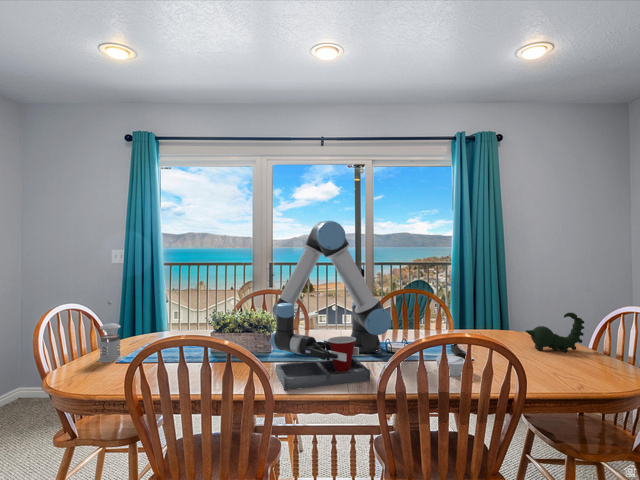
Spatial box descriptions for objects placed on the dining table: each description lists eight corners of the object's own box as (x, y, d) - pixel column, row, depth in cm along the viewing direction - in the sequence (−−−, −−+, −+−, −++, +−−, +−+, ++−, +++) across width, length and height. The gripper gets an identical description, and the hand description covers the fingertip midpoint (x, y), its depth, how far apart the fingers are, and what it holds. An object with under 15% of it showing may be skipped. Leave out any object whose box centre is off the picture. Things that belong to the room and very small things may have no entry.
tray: (354, 367, 167) (354, 357, 167) (370, 381, 151) (370, 370, 151) (276, 374, 158) (276, 364, 158) (284, 390, 143) (284, 379, 143)
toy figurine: (573, 351, 195) (519, 345, 196) (577, 311, 194) (523, 306, 196) (585, 357, 185) (528, 351, 187) (589, 315, 185) (532, 310, 186)
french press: (100, 363, 171) (100, 303, 171) (93, 357, 180) (93, 300, 179) (126, 359, 178) (125, 301, 177) (118, 353, 186) (117, 297, 186)
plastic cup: (340, 363, 165) (341, 333, 164) (361, 369, 157) (362, 338, 157) (321, 369, 157) (321, 337, 157) (342, 376, 149) (342, 343, 149)
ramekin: (466, 379, 154) (466, 365, 154) (435, 376, 157) (435, 362, 157) (465, 369, 165) (465, 356, 165) (436, 366, 168) (436, 354, 168)
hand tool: (466, 362, 174) (466, 351, 174) (456, 361, 175) (456, 350, 175) (458, 349, 193) (458, 339, 193) (449, 349, 194) (449, 339, 194)
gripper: (318, 348, 176) (365, 357, 163) (287, 361, 158) (337, 372, 145) (318, 330, 176) (365, 338, 163) (287, 341, 158) (337, 351, 145)
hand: (352, 354), depth 154 cm, fingers closed on plastic cup, 9 cm apart
